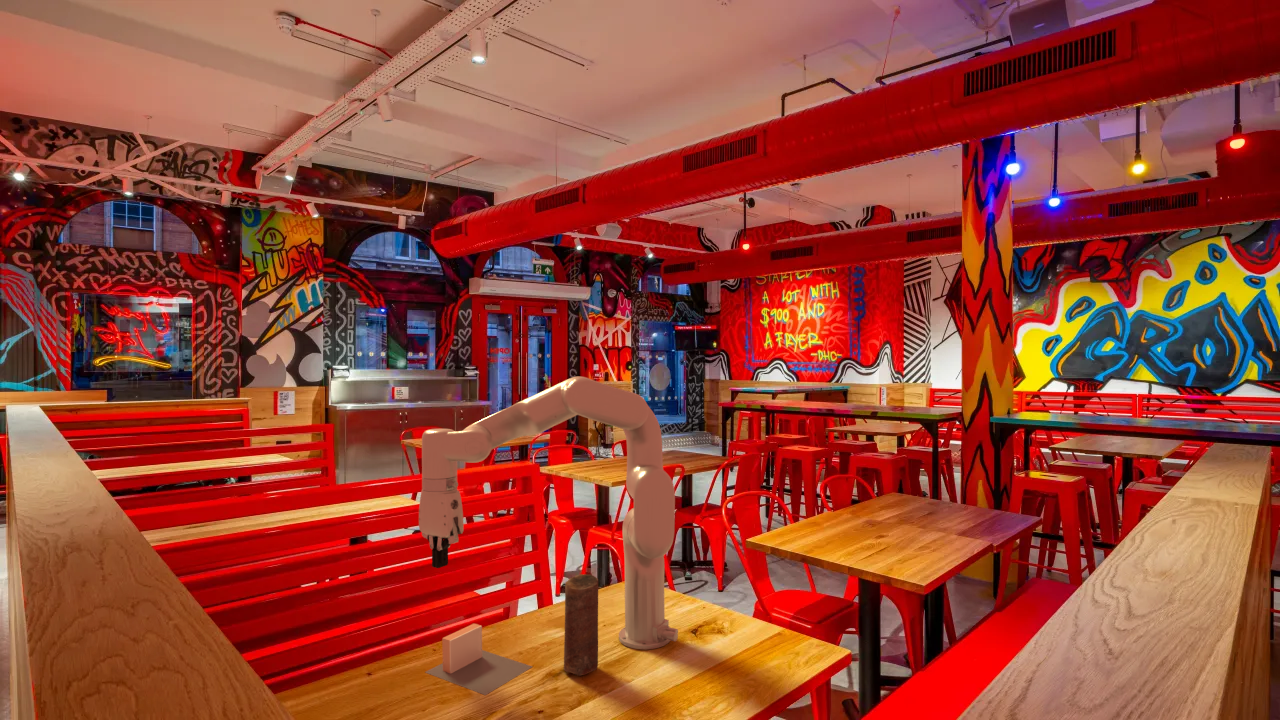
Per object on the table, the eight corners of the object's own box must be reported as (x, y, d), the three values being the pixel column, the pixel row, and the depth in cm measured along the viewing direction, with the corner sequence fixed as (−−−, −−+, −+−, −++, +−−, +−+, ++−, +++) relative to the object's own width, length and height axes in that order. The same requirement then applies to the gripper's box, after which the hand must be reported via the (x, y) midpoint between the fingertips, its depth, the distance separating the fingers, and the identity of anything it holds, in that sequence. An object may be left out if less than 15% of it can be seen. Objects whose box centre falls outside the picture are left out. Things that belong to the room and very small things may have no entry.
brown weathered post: (605, 669, 145) (604, 577, 145) (584, 683, 139) (583, 587, 139) (578, 660, 149) (577, 571, 149) (556, 673, 143) (555, 580, 143)
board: (532, 671, 144) (532, 666, 144) (485, 700, 133) (485, 695, 133) (474, 651, 154) (473, 647, 154) (424, 676, 142) (424, 672, 142)
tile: (482, 656, 149) (481, 625, 149) (450, 673, 142) (450, 640, 142) (474, 654, 151) (473, 623, 150) (442, 670, 143) (442, 638, 143)
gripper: (476, 485, 148) (476, 567, 149) (430, 478, 156) (431, 556, 157) (449, 491, 142) (450, 577, 142) (403, 483, 150) (404, 565, 150)
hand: (440, 565), depth 150 cm, fingers closed
